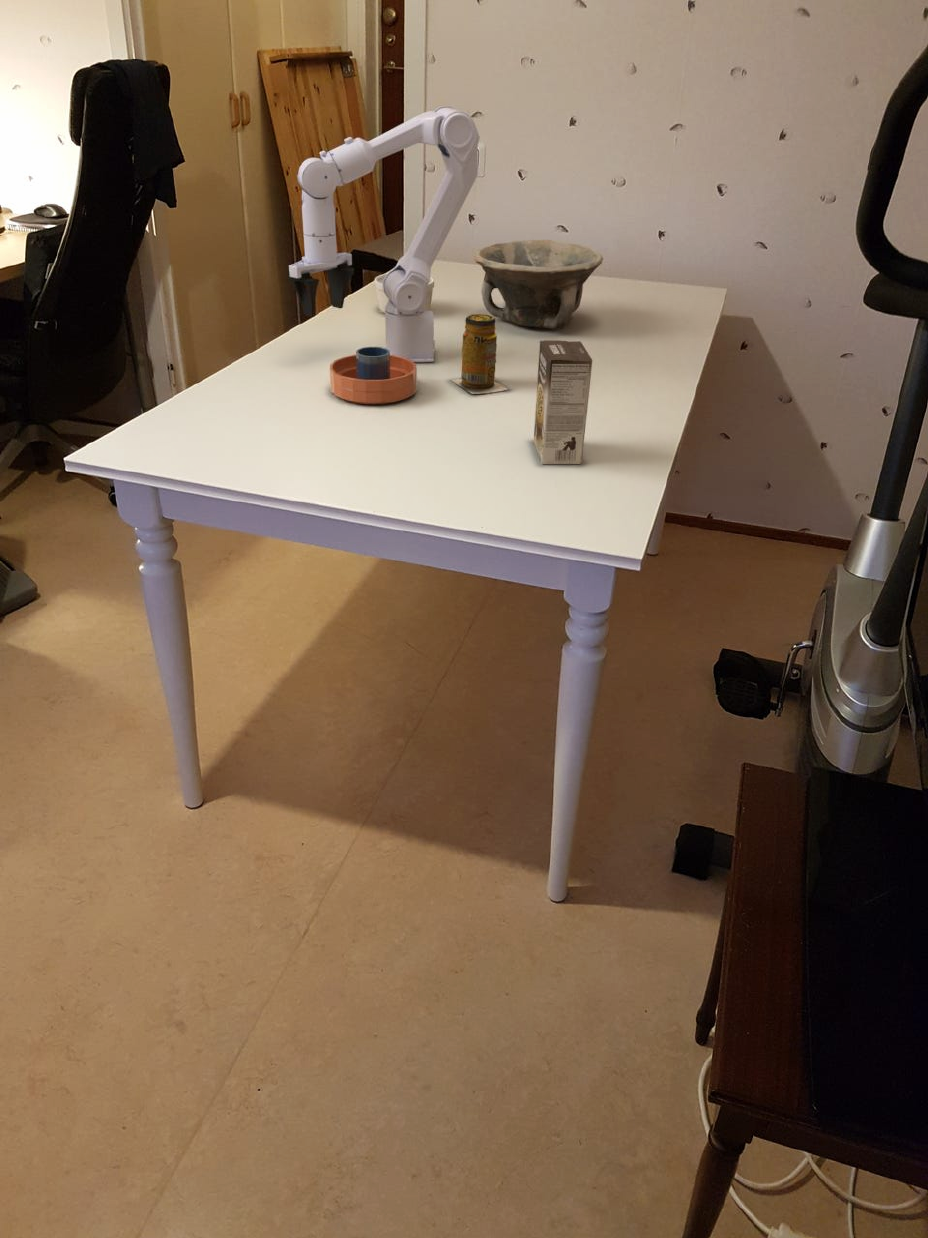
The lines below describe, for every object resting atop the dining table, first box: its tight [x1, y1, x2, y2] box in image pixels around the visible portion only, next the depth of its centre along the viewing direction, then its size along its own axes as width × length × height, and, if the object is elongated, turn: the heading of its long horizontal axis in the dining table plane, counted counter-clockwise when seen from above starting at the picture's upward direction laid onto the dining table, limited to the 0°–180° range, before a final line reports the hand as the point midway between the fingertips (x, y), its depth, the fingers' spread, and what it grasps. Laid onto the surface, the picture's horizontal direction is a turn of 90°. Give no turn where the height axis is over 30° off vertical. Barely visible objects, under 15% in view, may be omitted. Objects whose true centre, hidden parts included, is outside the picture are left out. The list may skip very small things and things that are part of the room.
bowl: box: [474, 239, 604, 330], centre depth 202 cm, size 27×26×15 cm
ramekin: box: [374, 273, 435, 315], centre depth 209 cm, size 13×13×7 cm
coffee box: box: [533, 339, 593, 465], centre depth 141 cm, size 9×6×16 cm
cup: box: [355, 346, 390, 380], centre depth 164 cm, size 6×6×6 cm
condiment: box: [451, 313, 509, 395], centre depth 167 cm, size 7×8×12 cm
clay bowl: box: [329, 354, 418, 405], centre depth 165 cm, size 15×15×4 cm
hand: (323, 311), depth 174 cm, fingers open, 7 cm apart
